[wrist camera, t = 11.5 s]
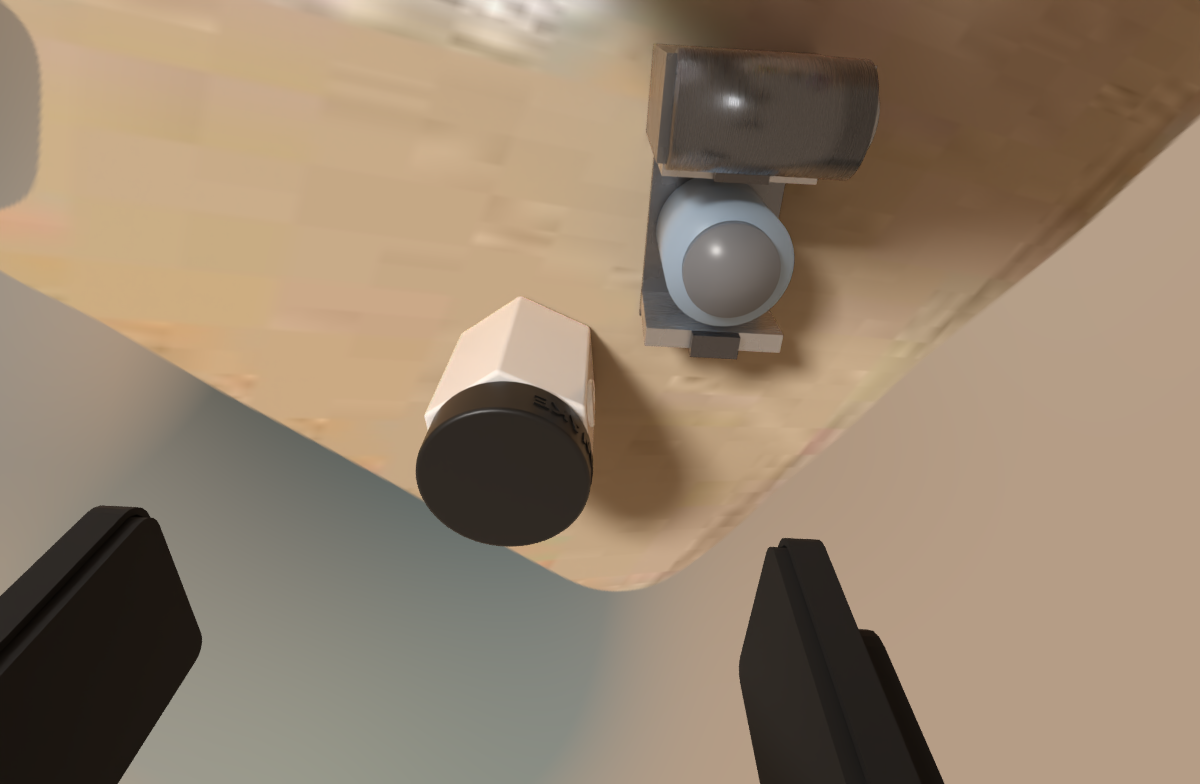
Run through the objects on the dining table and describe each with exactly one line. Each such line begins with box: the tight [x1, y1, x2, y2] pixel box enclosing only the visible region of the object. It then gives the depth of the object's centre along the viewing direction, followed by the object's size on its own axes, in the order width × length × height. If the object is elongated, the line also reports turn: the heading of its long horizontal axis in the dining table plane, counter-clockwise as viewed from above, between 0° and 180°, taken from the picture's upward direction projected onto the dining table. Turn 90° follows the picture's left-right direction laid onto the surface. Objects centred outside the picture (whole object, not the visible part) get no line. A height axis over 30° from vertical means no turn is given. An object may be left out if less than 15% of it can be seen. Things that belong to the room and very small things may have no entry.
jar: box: [416, 296, 595, 546], centre depth 35 cm, size 9×8×12 cm
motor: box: [639, 44, 880, 359], centre depth 30 cm, size 14×8×10 cm, turn 177°
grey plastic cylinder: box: [656, 178, 794, 326], centre depth 32 cm, size 6×6×7 cm
